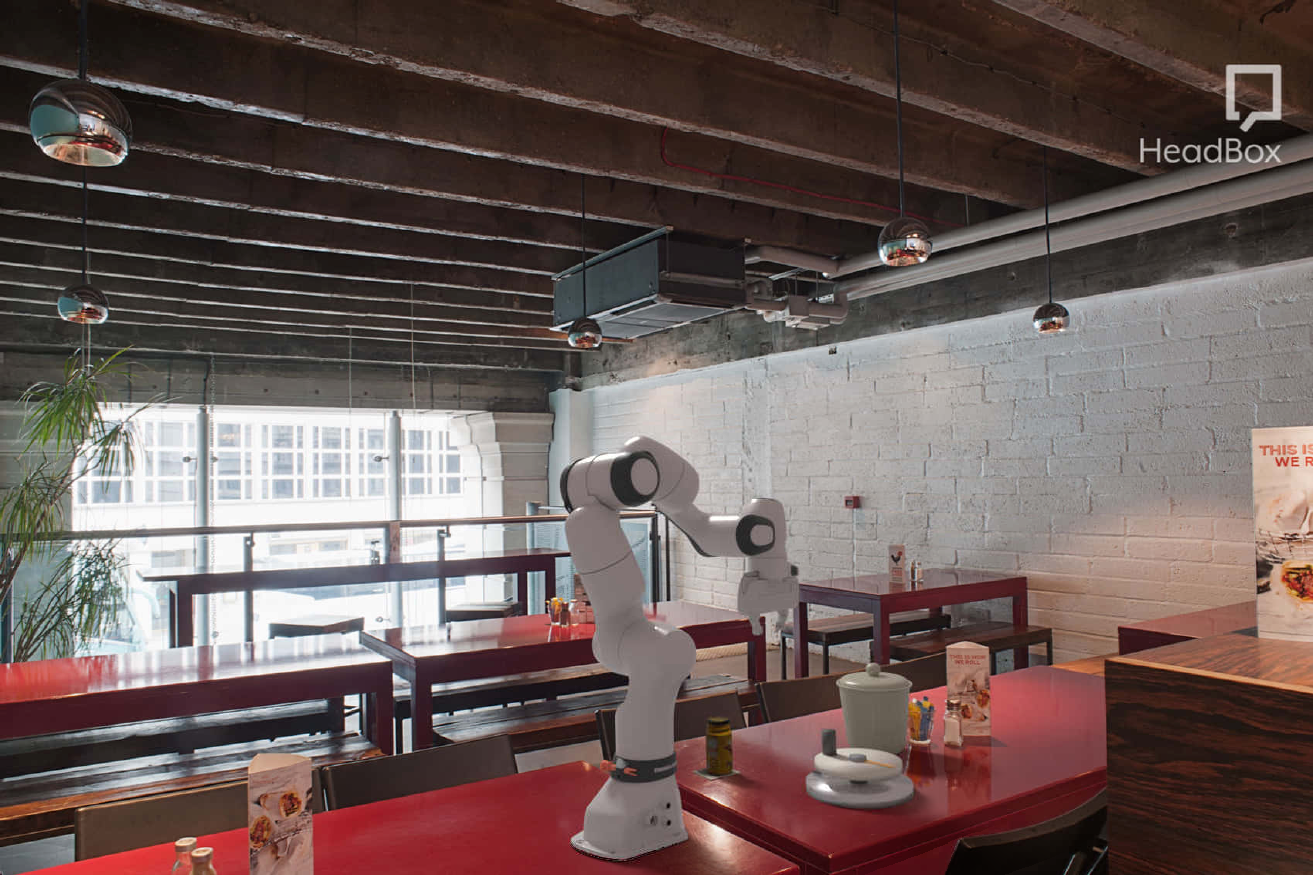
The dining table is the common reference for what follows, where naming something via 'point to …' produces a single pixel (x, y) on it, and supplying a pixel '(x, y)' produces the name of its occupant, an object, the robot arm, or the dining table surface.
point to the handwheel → (855, 761)
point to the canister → (875, 709)
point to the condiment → (718, 749)
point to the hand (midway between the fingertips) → (769, 632)
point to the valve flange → (860, 791)
